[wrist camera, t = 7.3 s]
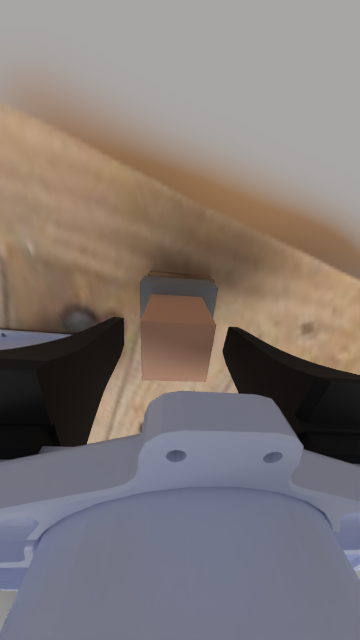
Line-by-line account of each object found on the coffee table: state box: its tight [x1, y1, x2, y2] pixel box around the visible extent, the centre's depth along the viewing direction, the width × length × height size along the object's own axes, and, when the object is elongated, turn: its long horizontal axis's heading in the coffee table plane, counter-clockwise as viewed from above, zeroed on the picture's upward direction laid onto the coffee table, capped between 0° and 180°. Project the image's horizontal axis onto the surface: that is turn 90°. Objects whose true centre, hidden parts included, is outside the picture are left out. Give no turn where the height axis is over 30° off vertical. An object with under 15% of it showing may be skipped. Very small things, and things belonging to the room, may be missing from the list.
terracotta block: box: [141, 294, 216, 382], centre depth 12 cm, size 4×4×5 cm
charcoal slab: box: [140, 276, 218, 319], centre depth 16 cm, size 6×6×2 cm
